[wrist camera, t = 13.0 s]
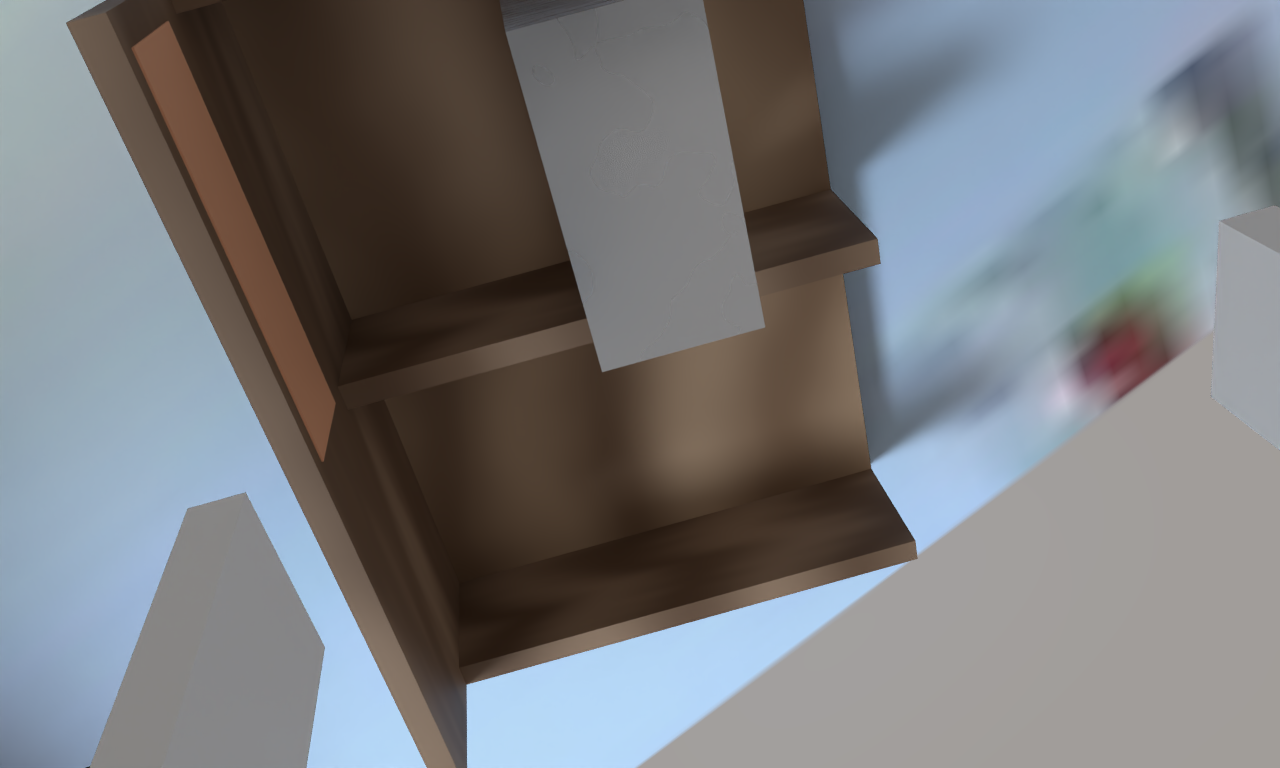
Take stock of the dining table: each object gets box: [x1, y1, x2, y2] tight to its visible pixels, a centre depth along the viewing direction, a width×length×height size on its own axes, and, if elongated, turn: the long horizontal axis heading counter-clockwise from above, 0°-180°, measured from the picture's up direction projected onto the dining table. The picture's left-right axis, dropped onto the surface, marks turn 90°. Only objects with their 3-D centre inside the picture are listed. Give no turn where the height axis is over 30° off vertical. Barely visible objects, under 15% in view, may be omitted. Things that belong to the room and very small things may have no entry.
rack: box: [66, 0, 917, 768], centre depth 31 cm, size 17×23×10 cm
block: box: [499, 0, 765, 372], centre depth 28 cm, size 4×8×10 cm, turn 13°
